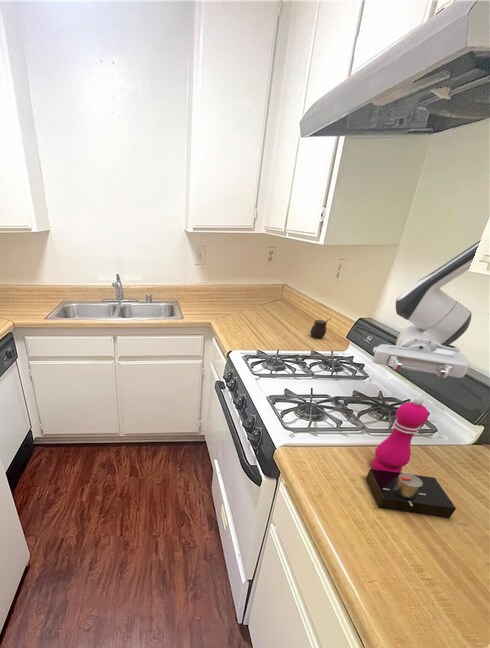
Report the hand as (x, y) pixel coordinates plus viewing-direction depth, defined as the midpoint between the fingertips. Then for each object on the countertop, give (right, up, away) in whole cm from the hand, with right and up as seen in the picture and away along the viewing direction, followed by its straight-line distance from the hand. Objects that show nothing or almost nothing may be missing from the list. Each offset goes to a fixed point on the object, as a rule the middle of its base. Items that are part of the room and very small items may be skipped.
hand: (420, 370), depth 83 cm
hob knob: (-10, -28, -8) cm, 31 cm away
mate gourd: (+15, +33, +91) cm, 98 cm away
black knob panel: (-7, -30, -5) cm, 31 cm away
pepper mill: (-6, -24, +3) cm, 25 cm away
